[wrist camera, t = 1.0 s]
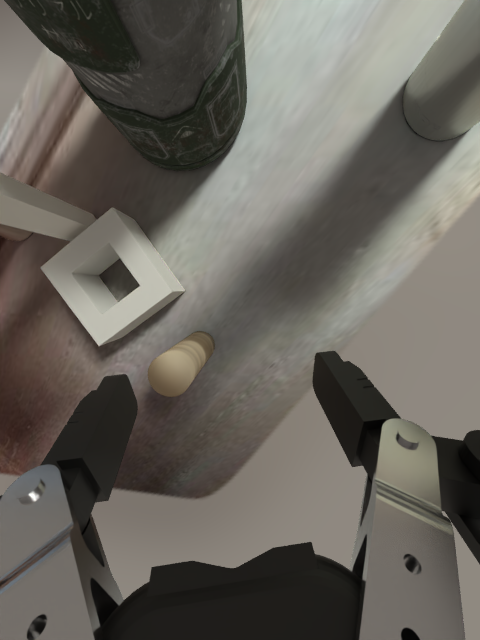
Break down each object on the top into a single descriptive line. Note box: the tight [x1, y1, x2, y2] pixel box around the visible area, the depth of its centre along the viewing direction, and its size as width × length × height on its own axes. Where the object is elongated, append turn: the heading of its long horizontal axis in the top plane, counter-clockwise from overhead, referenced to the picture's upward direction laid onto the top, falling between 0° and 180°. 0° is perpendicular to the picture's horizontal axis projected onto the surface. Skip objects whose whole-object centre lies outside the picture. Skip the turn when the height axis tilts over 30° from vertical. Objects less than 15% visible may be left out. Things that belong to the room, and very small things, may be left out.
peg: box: [148, 331, 215, 397], centre depth 28 cm, size 4×4×12 cm
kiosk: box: [0, 173, 185, 346], centre depth 20 cm, size 14×16×26 cm
